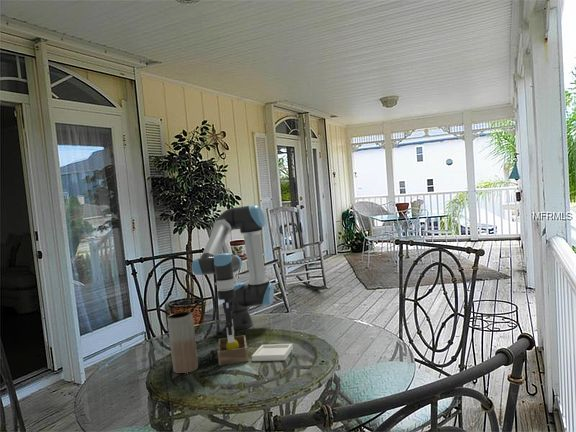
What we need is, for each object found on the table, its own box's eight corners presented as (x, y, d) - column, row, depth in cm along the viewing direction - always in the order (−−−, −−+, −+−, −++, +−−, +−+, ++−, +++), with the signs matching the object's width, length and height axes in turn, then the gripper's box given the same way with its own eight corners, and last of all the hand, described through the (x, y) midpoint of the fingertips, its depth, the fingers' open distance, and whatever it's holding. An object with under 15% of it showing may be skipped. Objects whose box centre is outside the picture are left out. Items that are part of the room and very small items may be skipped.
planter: (171, 368, 182) (165, 314, 182) (195, 363, 186) (189, 310, 186) (175, 376, 173) (168, 319, 173) (200, 370, 177) (194, 314, 177)
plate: (262, 349, 194) (261, 344, 194) (293, 348, 191) (292, 343, 191) (252, 361, 181) (251, 355, 181) (284, 360, 177) (284, 354, 177)
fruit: (224, 357, 189) (222, 339, 189) (231, 353, 194) (229, 335, 194) (236, 358, 187) (234, 339, 187) (242, 353, 192) (240, 335, 192)
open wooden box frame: (220, 351, 199) (218, 339, 199) (246, 346, 201) (245, 335, 201) (219, 365, 180) (217, 352, 180) (248, 360, 181) (246, 347, 181)
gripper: (218, 286, 202) (222, 332, 202) (216, 295, 177) (222, 347, 177) (234, 284, 203) (239, 329, 203) (235, 292, 178) (240, 344, 178)
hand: (231, 338), depth 190 cm, fingers open, 13 cm apart
